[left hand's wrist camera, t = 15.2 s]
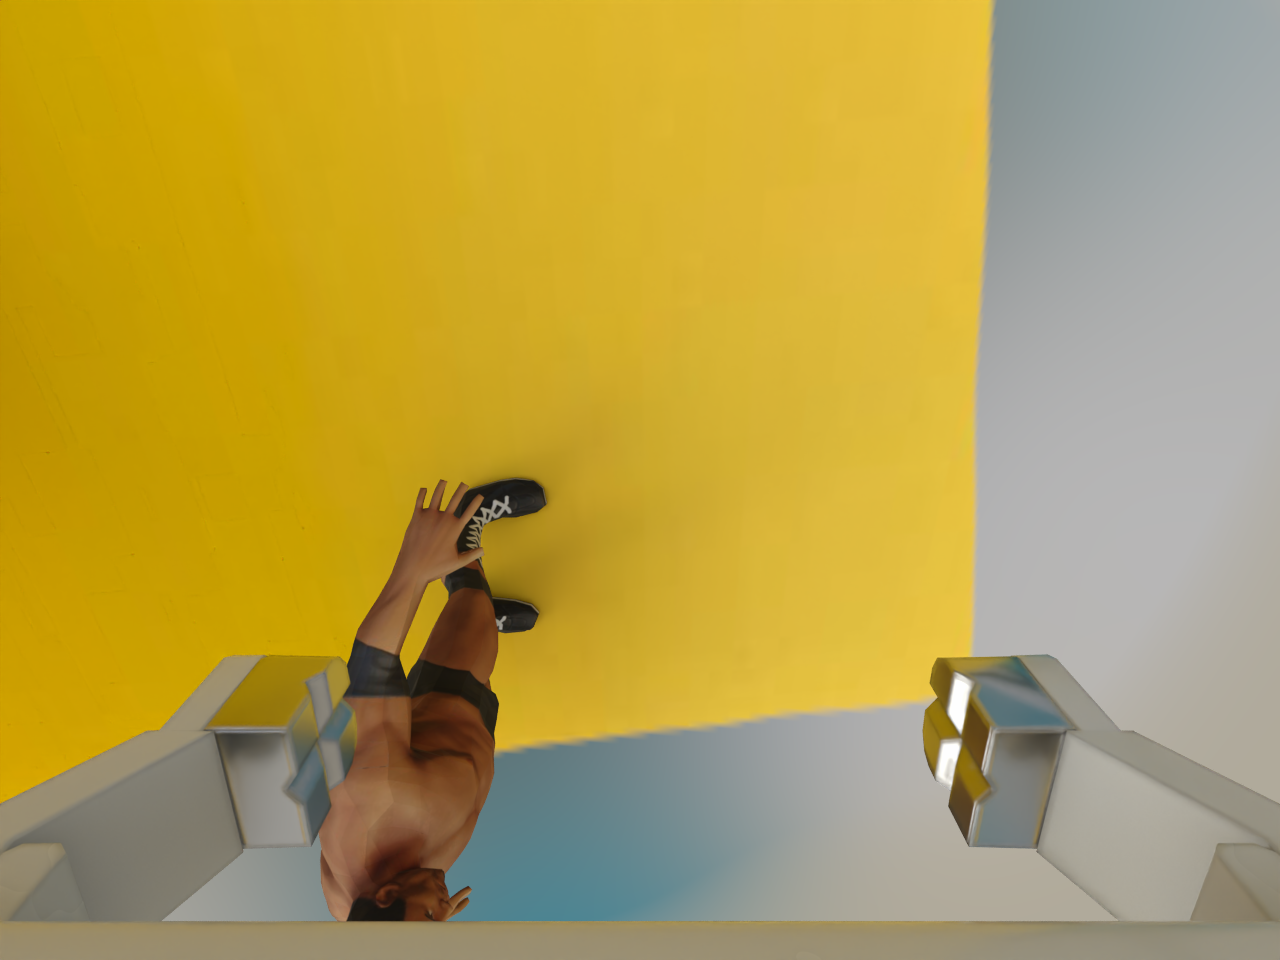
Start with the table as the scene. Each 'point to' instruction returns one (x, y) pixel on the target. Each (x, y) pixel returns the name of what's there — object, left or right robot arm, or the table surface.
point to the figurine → (423, 717)
